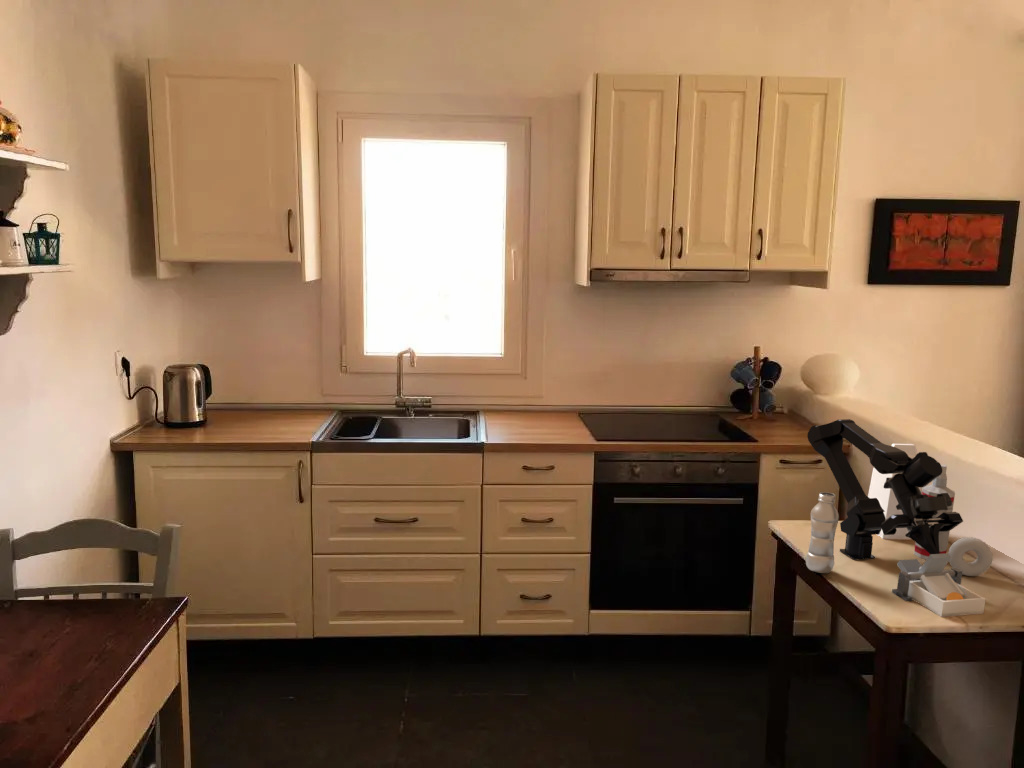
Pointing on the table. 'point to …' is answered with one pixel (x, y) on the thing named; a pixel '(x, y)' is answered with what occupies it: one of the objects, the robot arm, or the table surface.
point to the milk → (890, 493)
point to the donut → (970, 544)
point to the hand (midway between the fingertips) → (937, 556)
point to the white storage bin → (944, 608)
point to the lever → (932, 574)
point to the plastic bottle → (822, 534)
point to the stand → (905, 579)
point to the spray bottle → (932, 491)
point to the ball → (954, 596)
